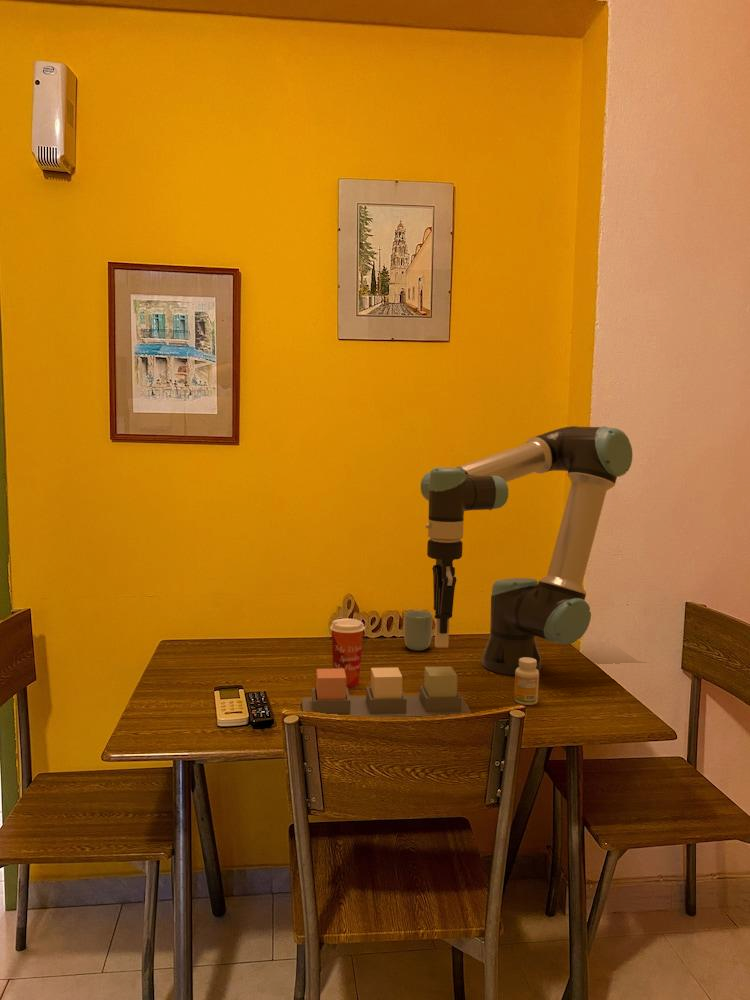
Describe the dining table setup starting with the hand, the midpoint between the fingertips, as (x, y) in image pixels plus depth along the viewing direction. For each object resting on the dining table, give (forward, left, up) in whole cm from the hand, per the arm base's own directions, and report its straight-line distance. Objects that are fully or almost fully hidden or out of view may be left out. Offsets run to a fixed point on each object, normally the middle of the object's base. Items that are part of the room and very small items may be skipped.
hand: (441, 646), depth 162 cm
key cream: (+12, 0, -11) cm, 16 cm away
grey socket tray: (+12, 0, -14) cm, 19 cm away
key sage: (0, 0, -11) cm, 11 cm away
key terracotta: (+24, 0, -11) cm, 26 cm away
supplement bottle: (-21, -4, -15) cm, 26 cm away
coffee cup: (+19, -18, -15) cm, 30 cm away
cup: (-3, -44, -15) cm, 46 cm away
